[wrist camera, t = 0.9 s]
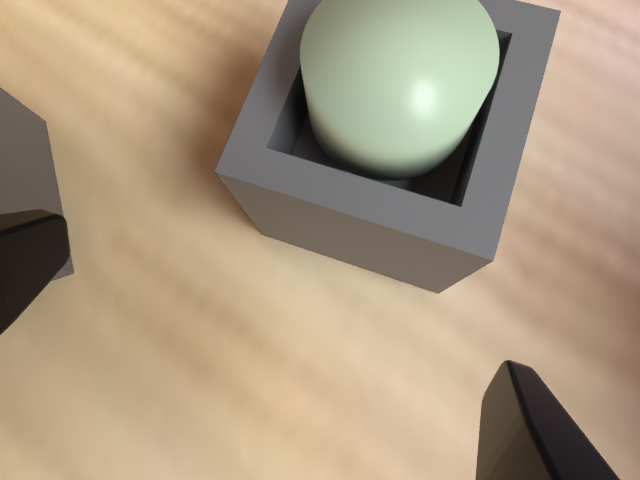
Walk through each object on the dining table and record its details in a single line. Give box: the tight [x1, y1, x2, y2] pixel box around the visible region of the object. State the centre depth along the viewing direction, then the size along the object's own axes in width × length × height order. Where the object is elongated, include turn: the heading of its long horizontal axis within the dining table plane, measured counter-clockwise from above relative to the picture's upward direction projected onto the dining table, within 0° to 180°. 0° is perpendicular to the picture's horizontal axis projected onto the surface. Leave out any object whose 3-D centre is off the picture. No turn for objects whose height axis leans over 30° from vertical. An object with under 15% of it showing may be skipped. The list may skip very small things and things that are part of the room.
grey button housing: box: [215, 0, 561, 294], centre depth 18 cm, size 9×9×8 cm
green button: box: [300, 0, 499, 181], centre depth 14 cm, size 6×6×3 cm
